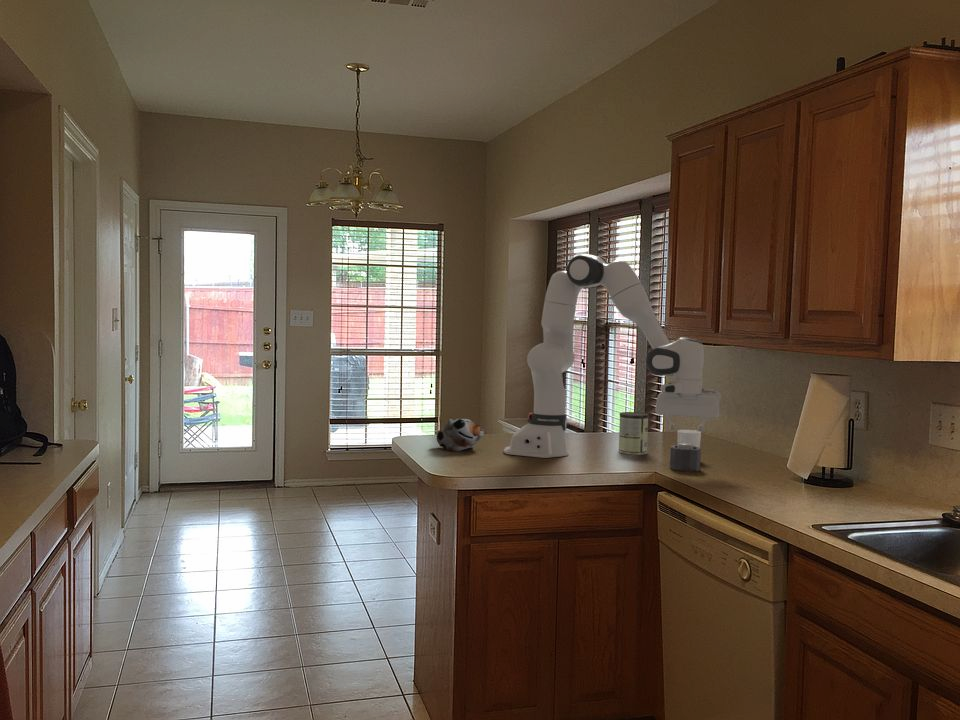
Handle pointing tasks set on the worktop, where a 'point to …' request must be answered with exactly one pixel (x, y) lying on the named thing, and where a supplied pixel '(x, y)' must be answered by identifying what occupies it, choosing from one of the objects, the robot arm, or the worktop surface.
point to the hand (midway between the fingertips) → (686, 430)
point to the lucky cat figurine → (459, 435)
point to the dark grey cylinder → (685, 458)
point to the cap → (685, 446)
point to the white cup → (689, 437)
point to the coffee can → (633, 433)
